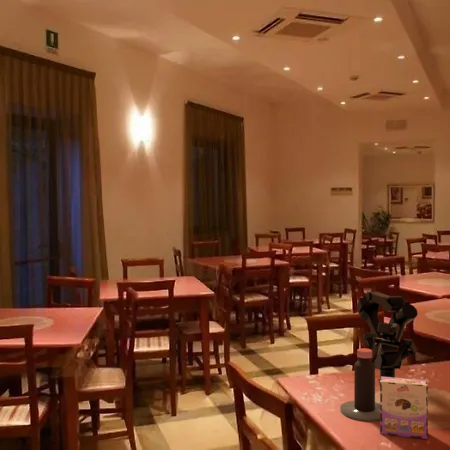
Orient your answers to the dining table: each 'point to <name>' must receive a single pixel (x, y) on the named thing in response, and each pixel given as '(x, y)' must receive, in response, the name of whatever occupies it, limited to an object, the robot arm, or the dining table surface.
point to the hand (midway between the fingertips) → (381, 362)
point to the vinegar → (364, 381)
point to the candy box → (404, 407)
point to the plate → (360, 412)
